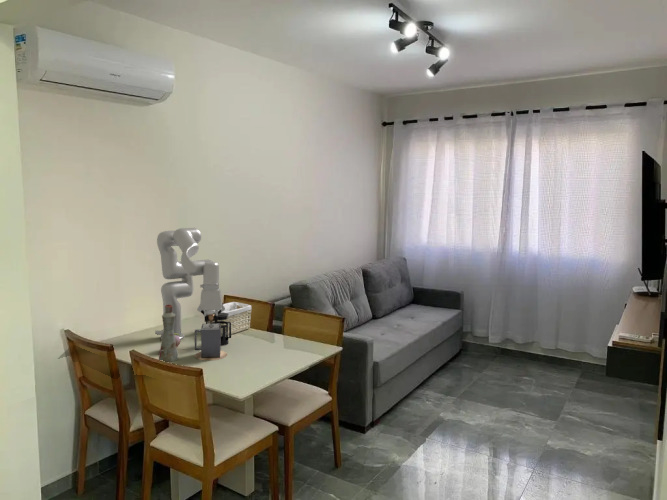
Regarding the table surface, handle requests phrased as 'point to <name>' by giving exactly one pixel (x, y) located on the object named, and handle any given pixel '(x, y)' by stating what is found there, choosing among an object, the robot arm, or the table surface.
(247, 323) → the storage basket
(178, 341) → the decorative fruit
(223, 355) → the coaster
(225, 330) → the french press
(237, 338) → the table surface
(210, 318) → the plunger
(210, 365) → the table surface
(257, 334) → the table surface
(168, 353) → the bottle
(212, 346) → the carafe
